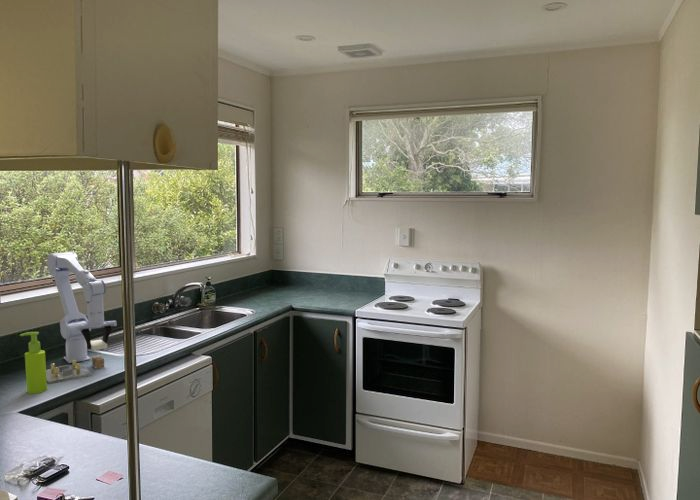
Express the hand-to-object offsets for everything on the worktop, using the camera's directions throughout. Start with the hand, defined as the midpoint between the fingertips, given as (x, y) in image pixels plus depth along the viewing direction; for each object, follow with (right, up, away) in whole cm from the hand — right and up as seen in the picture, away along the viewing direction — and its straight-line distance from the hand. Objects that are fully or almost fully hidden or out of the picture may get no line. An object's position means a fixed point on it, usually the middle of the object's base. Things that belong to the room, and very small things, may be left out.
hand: (97, 346), depth 210 cm
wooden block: (0, -8, +1) cm, 8 cm away
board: (0, 0, 0) cm, 0 cm away
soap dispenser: (-8, -10, -27) cm, 30 cm away
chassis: (-7, -8, -9) cm, 15 cm away
